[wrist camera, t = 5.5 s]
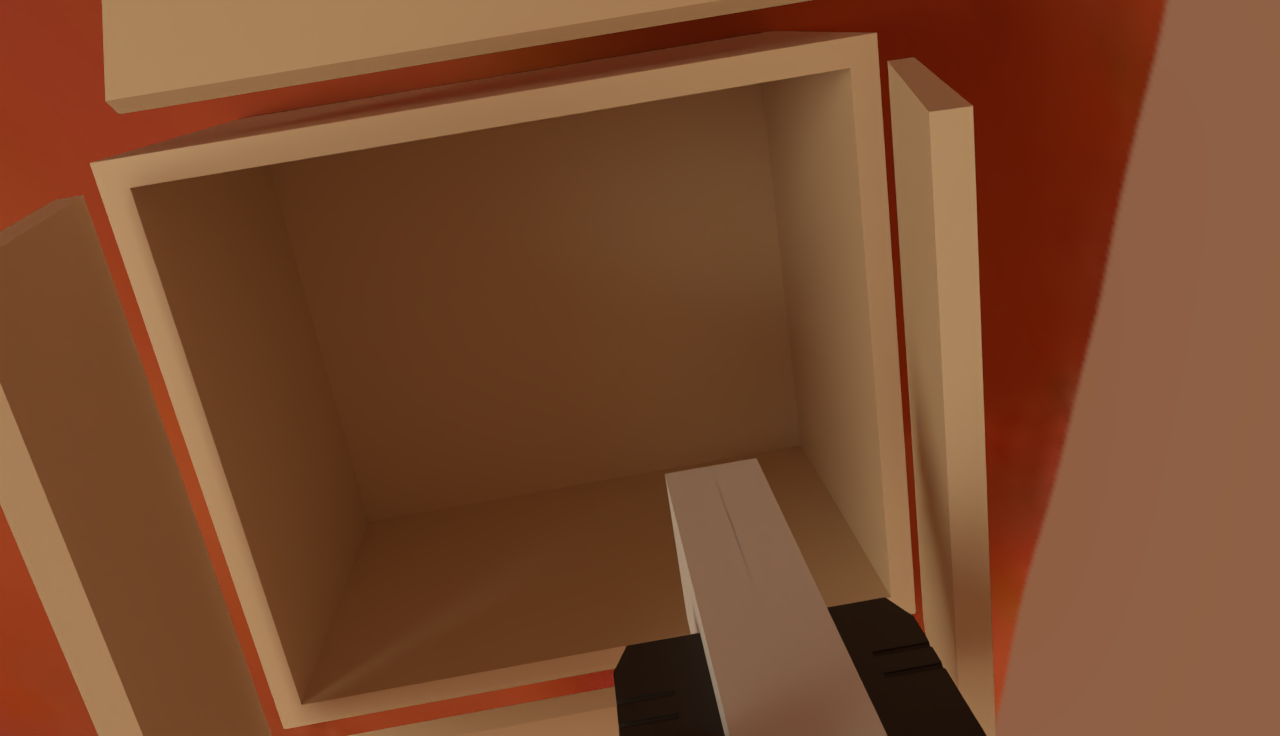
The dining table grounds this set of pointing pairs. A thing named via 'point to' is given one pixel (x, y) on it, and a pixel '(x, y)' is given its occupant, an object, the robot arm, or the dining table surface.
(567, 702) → the flap
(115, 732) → the flap
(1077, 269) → the dining table surface
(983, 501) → the flap
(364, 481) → the carton
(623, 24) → the flap
